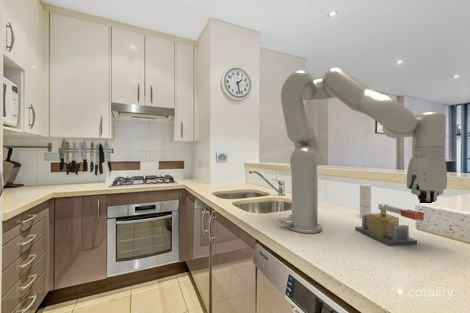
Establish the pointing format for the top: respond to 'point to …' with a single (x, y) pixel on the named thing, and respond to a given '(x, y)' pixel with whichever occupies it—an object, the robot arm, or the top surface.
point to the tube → (365, 199)
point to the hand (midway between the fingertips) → (426, 213)
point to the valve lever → (403, 212)
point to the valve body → (385, 229)
